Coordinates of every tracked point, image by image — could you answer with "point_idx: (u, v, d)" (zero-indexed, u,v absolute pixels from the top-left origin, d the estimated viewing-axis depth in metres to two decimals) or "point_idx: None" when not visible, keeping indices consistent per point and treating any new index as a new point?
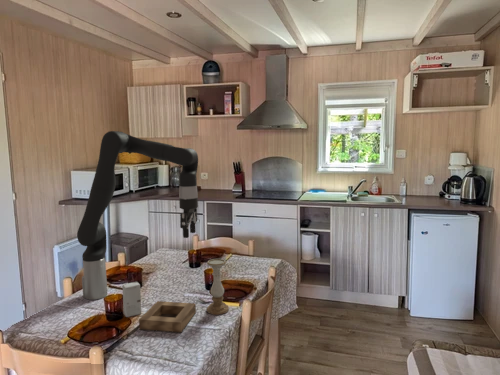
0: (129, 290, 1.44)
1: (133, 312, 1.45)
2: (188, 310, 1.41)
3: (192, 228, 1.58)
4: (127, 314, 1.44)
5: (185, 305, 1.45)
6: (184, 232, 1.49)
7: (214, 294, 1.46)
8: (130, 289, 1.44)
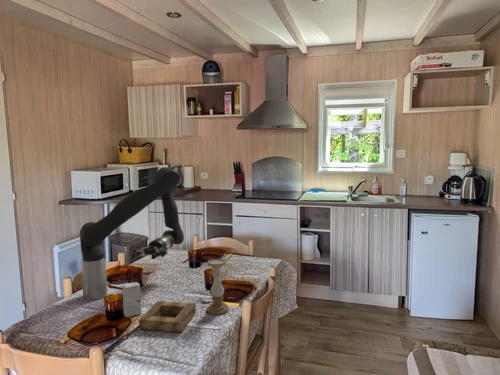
0: (129, 290, 1.44)
1: (133, 312, 1.45)
2: (188, 310, 1.41)
3: (136, 255, 1.59)
4: (127, 314, 1.44)
5: (185, 305, 1.45)
6: (157, 255, 1.57)
7: (214, 294, 1.46)
8: (130, 289, 1.44)
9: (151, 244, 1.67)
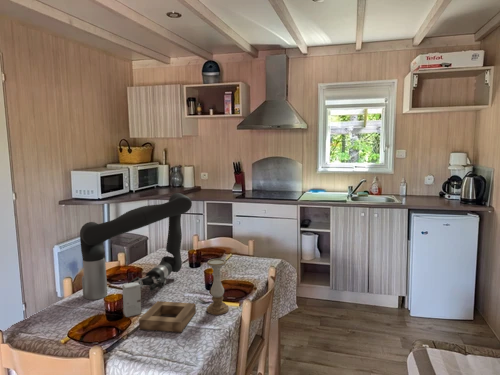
0: (129, 290, 1.44)
1: (133, 312, 1.45)
2: (188, 310, 1.41)
3: None
4: (127, 314, 1.44)
5: (185, 305, 1.45)
6: (155, 286, 1.56)
7: (214, 294, 1.46)
8: (130, 289, 1.44)
9: (149, 274, 1.66)
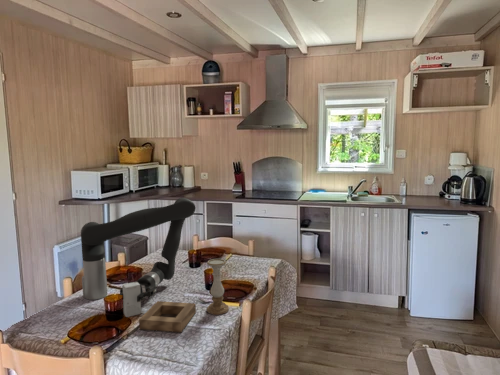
0: (129, 290, 1.44)
1: (133, 312, 1.45)
2: (188, 310, 1.41)
3: None
4: (127, 314, 1.44)
5: (185, 305, 1.45)
6: (143, 296, 1.46)
7: (214, 294, 1.46)
8: (130, 289, 1.44)
9: (139, 282, 1.56)
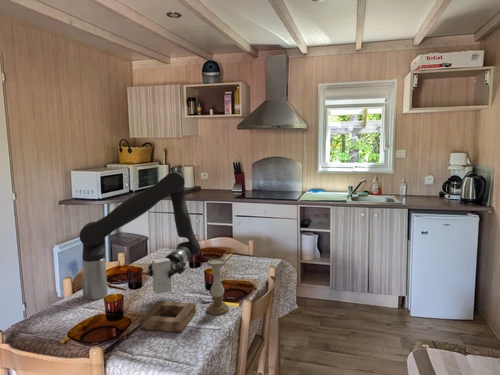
0: (159, 266, 1.38)
1: (163, 289, 1.39)
2: (188, 310, 1.41)
3: None
4: (158, 291, 1.38)
5: (185, 305, 1.45)
6: (173, 272, 1.39)
7: (214, 294, 1.46)
8: (161, 265, 1.38)
9: None
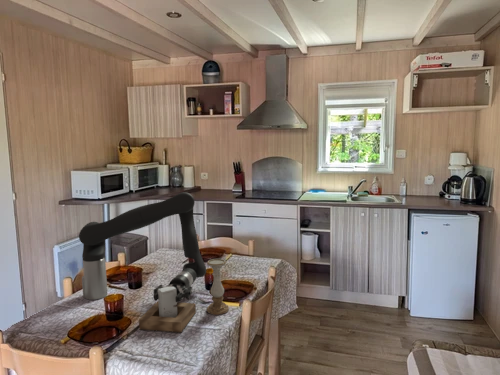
0: (165, 295, 1.38)
1: None
2: (188, 310, 1.41)
3: None
4: None
5: (185, 305, 1.45)
6: (181, 296, 1.39)
7: (214, 294, 1.46)
8: (166, 293, 1.38)
9: (173, 282, 1.49)
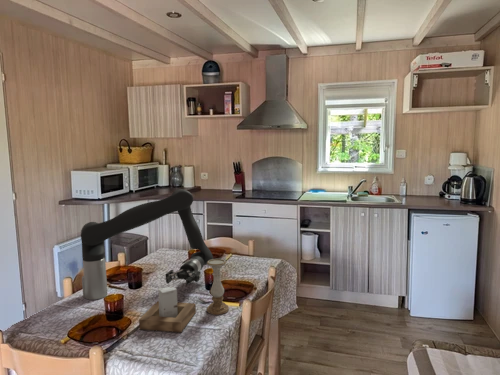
0: (166, 295, 1.37)
1: None
2: (188, 310, 1.41)
3: (169, 279, 1.53)
4: None
5: (185, 305, 1.45)
6: (191, 280, 1.52)
7: (214, 294, 1.46)
8: (167, 294, 1.38)
9: (183, 267, 1.62)
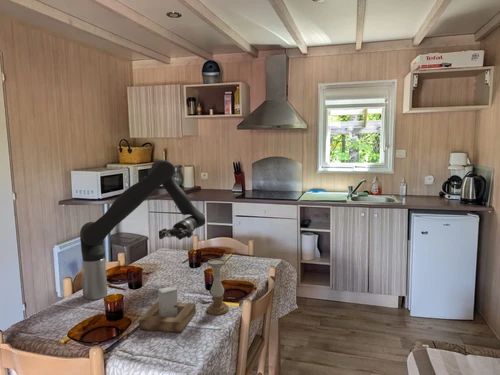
0: (166, 295, 1.37)
1: None
2: (188, 310, 1.41)
3: (162, 235, 1.59)
4: None
5: (185, 305, 1.45)
6: (183, 235, 1.58)
7: (214, 294, 1.46)
8: (167, 294, 1.38)
9: (176, 226, 1.68)
